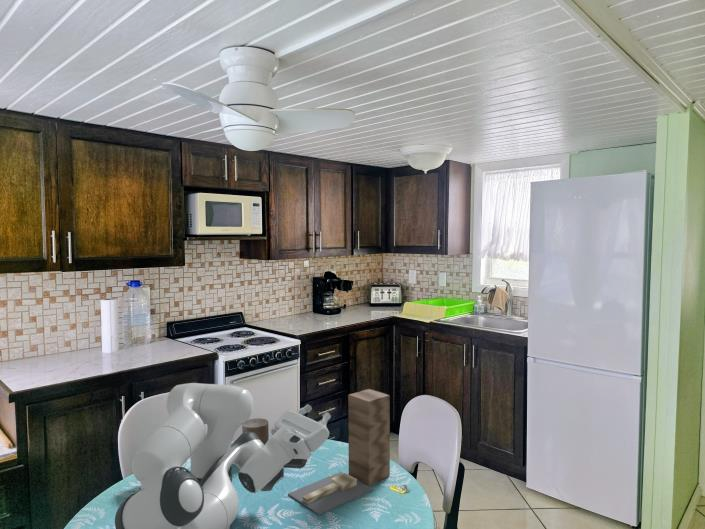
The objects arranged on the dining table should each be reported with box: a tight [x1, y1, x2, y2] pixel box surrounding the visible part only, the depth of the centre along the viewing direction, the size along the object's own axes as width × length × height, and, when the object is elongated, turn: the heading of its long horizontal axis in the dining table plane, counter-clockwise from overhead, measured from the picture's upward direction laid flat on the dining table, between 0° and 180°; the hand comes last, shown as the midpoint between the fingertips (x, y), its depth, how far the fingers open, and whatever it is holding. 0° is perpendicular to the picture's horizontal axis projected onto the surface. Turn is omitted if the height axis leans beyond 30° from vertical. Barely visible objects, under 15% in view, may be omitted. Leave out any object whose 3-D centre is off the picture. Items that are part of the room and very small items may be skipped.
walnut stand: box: [347, 388, 391, 487], centre depth 164 cm, size 10×10×28 cm
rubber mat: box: [287, 471, 374, 516], centre depth 153 cm, size 22×16×1 cm
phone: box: [283, 458, 308, 468], centre depth 179 cm, size 8×1×15 cm
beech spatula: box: [303, 472, 357, 504], centre depth 153 cm, size 19×6×2 cm, turn 133°
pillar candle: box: [241, 417, 270, 445], centre depth 178 cm, size 10×10×15 cm
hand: (319, 410), depth 149 cm, fingers open, 8 cm apart
